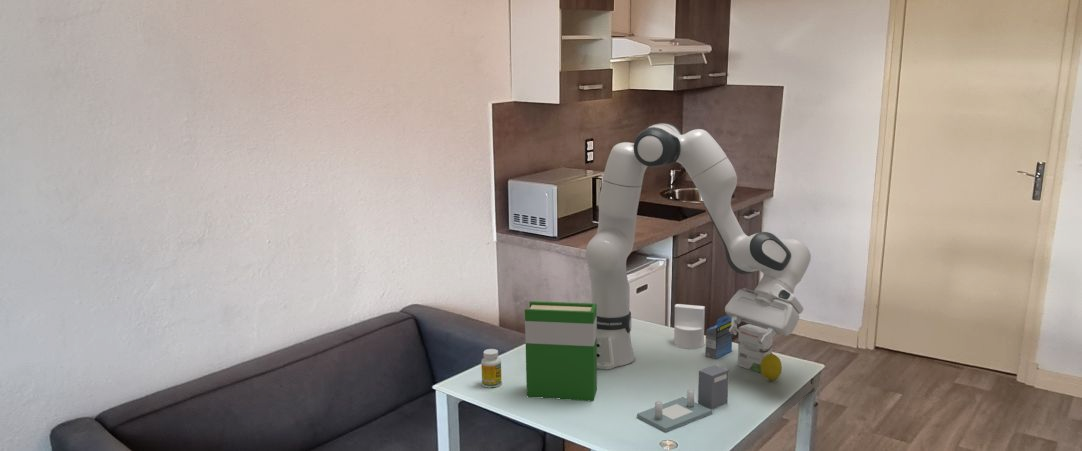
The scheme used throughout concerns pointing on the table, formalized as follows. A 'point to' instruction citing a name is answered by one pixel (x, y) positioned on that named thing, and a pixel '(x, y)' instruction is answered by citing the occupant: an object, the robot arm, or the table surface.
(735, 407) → the table surface
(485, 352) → the supplement bottle
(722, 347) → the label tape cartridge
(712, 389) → the block
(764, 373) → the lemon
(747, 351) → the ink box
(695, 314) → the base with upright slab
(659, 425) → the tray
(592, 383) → the hardback book
